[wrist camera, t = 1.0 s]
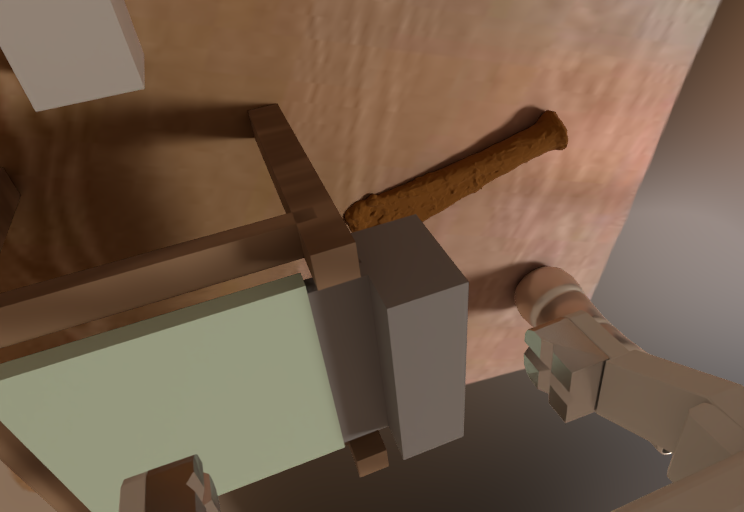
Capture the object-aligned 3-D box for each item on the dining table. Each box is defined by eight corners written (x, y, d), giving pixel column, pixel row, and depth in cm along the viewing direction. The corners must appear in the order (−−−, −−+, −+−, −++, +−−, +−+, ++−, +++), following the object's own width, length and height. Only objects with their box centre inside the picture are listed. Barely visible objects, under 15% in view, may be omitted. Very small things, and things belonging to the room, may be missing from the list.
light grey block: (2, -28, 25) (-28, -4, 21) (107, -45, 26) (100, -25, 22) (52, 72, 28) (35, 111, 24) (143, 54, 30) (144, 88, 25)
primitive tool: (365, 252, 45) (379, 276, 42) (337, 209, 41) (350, 233, 38) (553, 134, 44) (579, 151, 42) (541, 80, 41) (569, 95, 38)
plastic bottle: (545, 304, 58) (685, 458, 43) (496, 306, 55) (629, 472, 40) (570, 258, 54) (733, 408, 39) (520, 257, 51) (675, 419, 37)
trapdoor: (-12, 330, 23) (-48, 442, 19) (415, 206, 27) (469, 274, 23) (116, 480, 32) (113, 580, 27) (423, 369, 36) (463, 440, 32)
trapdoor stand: (-35, 176, 30) (-155, 394, 18) (277, 103, 34) (355, 242, 22) (103, 373, 42) (88, 585, 30) (322, 303, 46) (388, 465, 33)
